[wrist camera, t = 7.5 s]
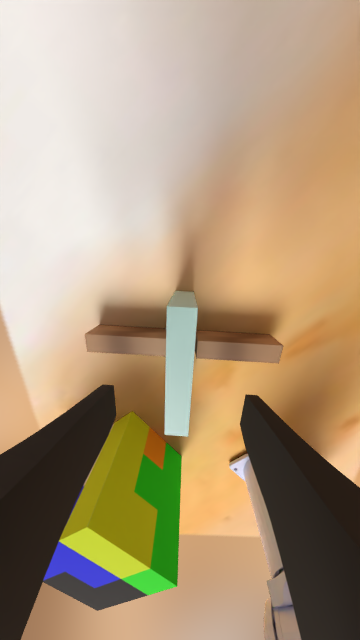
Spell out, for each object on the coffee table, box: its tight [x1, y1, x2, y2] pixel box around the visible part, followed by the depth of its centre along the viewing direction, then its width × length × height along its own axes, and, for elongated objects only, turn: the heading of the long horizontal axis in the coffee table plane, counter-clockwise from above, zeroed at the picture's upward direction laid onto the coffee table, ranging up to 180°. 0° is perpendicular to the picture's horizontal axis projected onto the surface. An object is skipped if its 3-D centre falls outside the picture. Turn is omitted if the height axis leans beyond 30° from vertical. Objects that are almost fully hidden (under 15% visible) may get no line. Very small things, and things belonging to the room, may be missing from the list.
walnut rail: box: [85, 325, 283, 363], centre depth 16 cm, size 18×2×3 cm, turn 88°
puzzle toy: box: [43, 411, 182, 610], centre depth 19 cm, size 10×10×10 cm
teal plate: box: [165, 291, 198, 437], centre depth 14 cm, size 10×2×7 cm, turn 178°
